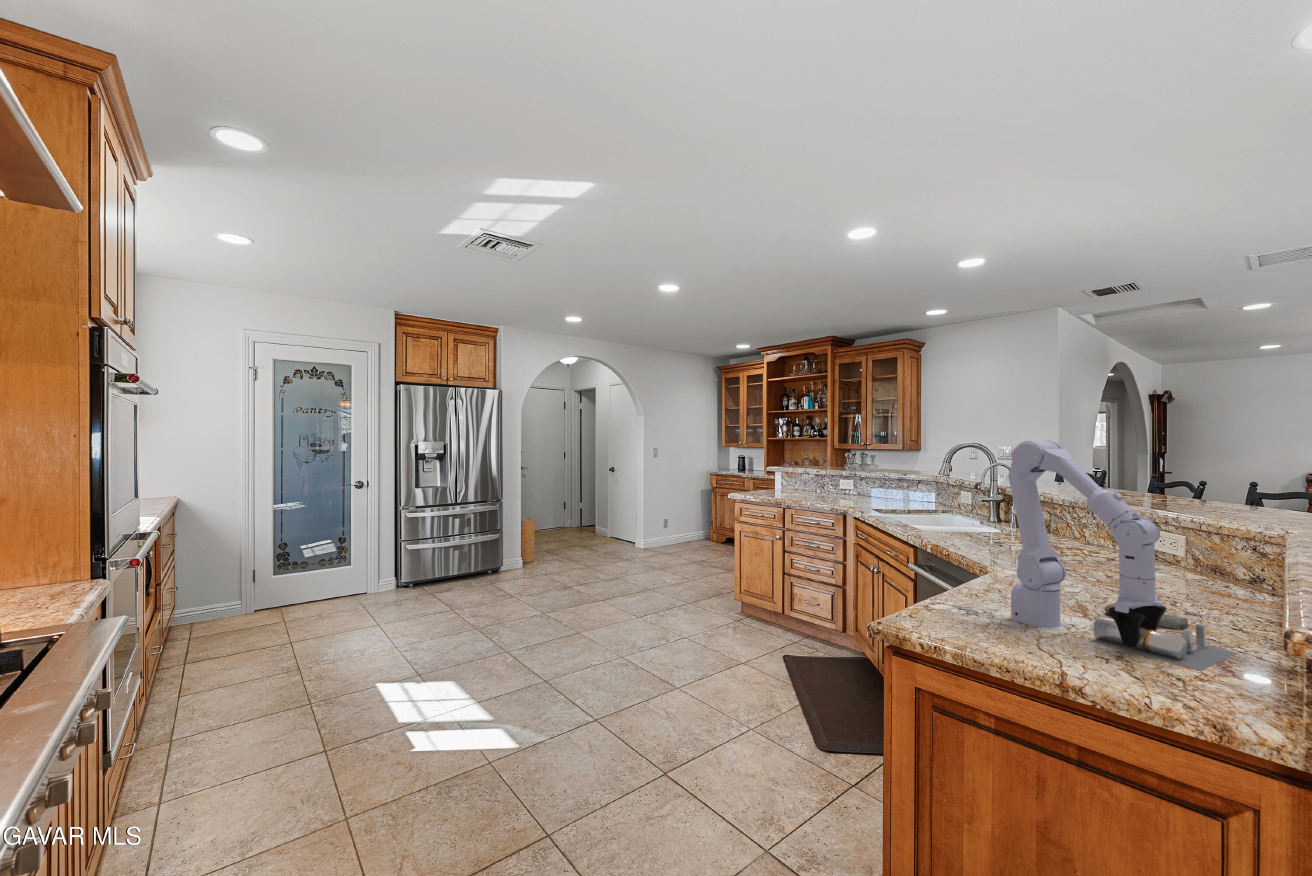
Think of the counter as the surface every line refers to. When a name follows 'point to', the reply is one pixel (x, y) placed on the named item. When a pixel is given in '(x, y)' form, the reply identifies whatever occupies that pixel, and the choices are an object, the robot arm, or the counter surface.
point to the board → (1194, 660)
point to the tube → (1144, 639)
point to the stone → (1166, 621)
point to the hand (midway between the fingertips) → (1138, 641)
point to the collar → (1199, 639)
